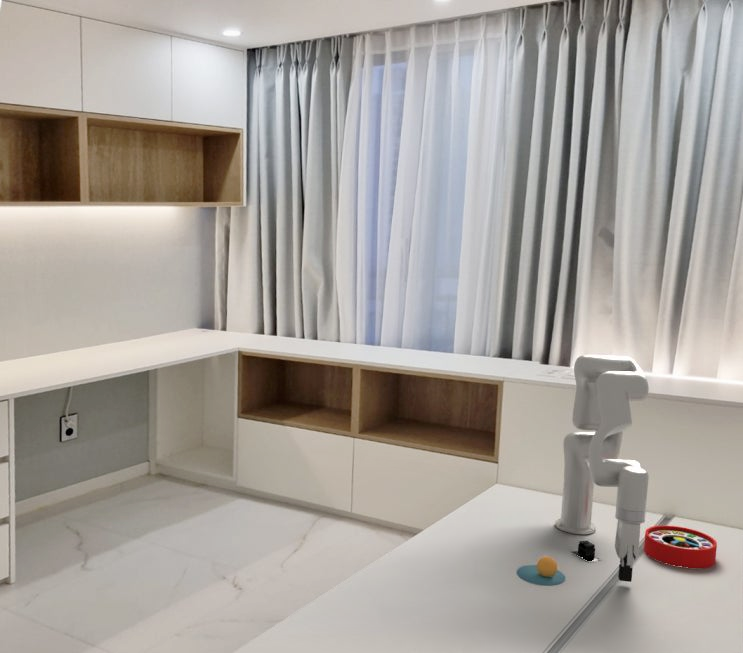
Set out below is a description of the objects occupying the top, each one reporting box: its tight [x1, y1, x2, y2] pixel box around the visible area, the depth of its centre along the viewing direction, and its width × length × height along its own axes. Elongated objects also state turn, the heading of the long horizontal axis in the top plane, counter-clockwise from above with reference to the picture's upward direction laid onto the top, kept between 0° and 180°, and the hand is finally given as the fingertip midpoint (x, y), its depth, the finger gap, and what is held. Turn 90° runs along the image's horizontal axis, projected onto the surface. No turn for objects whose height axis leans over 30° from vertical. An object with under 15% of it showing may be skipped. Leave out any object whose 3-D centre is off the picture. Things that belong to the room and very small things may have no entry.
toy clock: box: [643, 525, 718, 569], centre depth 234 cm, size 20×6×20 cm
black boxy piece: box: [571, 540, 599, 562], centre depth 230 cm, size 12×7×5 cm, turn 22°
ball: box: [536, 555, 558, 577], centre depth 214 cm, size 6×6×6 cm
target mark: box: [516, 564, 566, 586], centre depth 214 cm, size 13×13×1 cm
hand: (624, 579), depth 210 cm, fingers closed
